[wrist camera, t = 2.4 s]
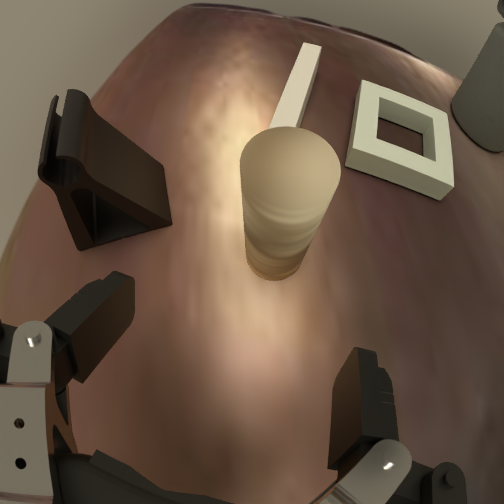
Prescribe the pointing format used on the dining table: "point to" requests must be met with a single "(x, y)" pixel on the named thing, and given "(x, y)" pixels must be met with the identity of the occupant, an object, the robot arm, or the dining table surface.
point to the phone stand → (100, 176)
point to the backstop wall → (297, 88)
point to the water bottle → (484, 93)
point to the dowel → (284, 196)
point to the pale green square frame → (393, 157)
